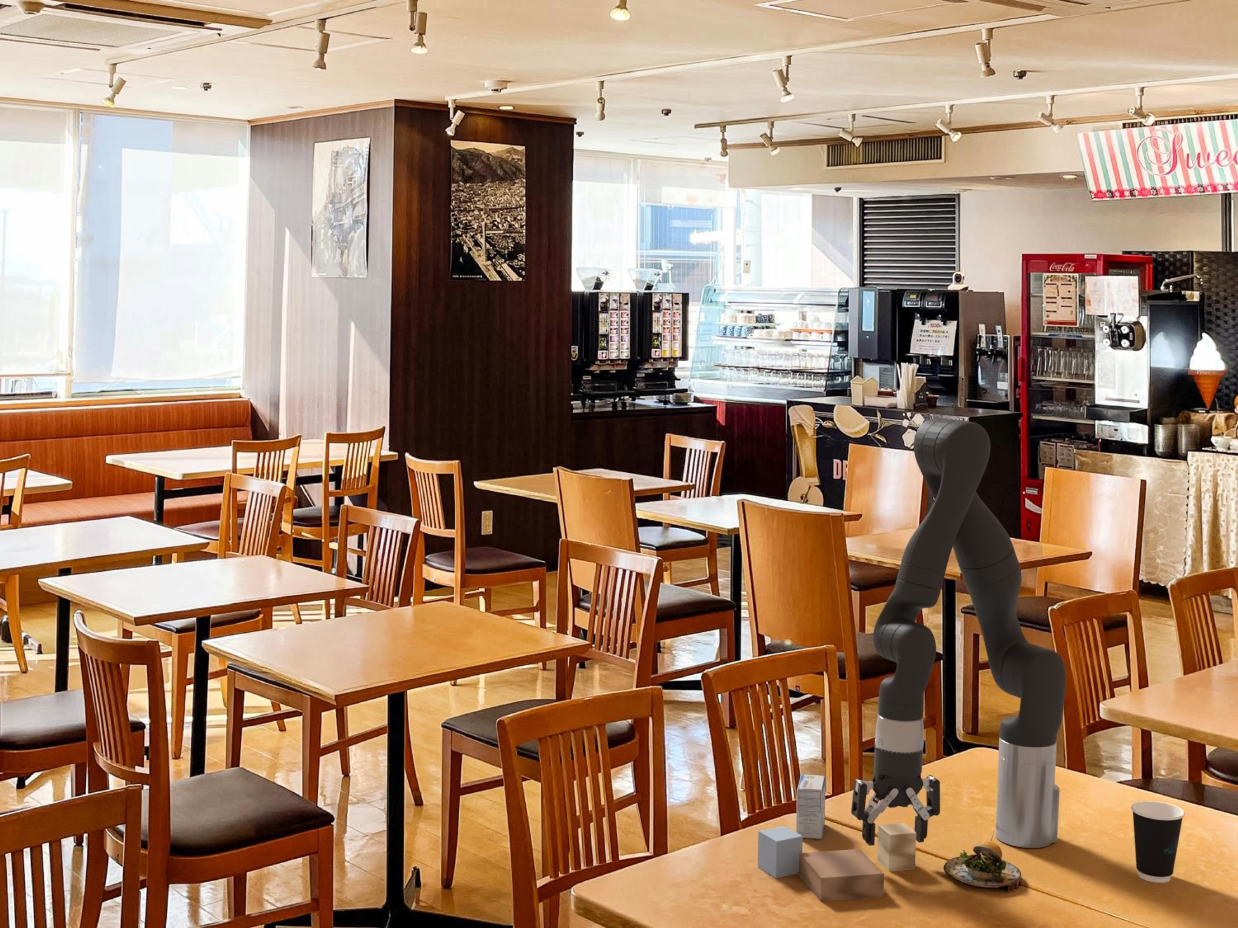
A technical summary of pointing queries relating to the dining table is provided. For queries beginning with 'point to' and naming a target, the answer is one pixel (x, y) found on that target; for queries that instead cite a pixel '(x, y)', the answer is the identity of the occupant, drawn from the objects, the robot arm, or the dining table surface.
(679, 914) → the dining table surface
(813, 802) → the medicine box
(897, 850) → the oak block
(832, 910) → the dining table surface
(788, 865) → the slate block
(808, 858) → the walnut block
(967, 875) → the burger
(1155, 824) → the dixie cup
